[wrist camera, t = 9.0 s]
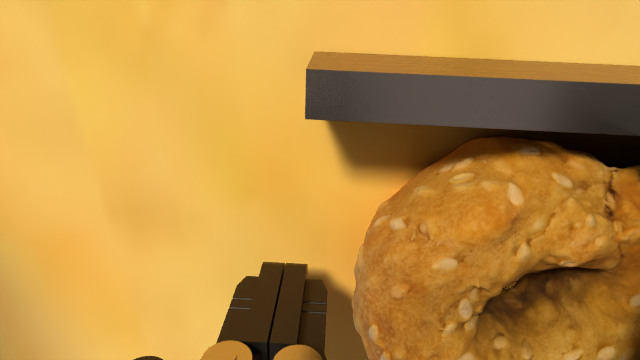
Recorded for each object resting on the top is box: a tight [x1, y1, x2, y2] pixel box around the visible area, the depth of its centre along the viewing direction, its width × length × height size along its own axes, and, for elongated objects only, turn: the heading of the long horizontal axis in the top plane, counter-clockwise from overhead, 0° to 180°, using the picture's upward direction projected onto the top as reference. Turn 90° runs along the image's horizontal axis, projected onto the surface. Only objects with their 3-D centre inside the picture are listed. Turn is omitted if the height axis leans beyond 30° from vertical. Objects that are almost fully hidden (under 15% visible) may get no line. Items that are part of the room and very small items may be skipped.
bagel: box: [352, 136, 640, 360], centre depth 13 cm, size 10×11×5 cm
